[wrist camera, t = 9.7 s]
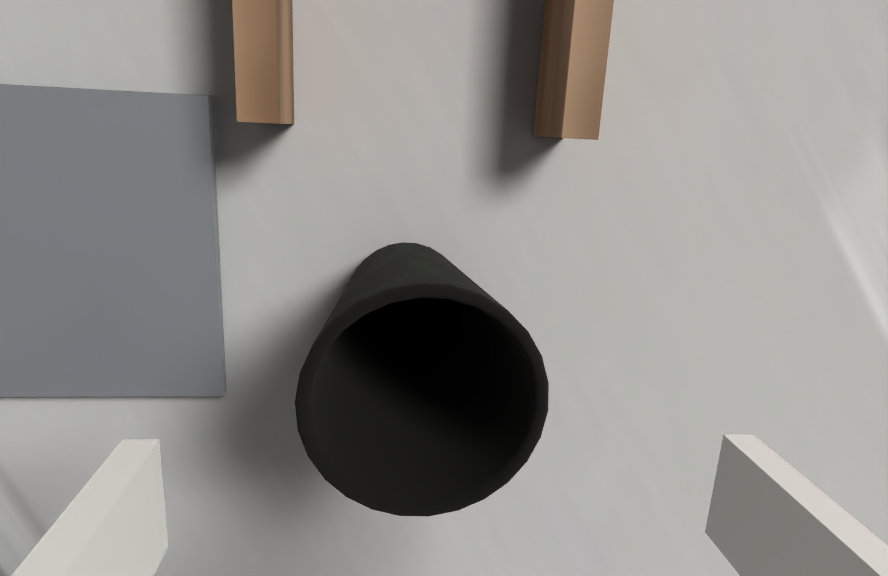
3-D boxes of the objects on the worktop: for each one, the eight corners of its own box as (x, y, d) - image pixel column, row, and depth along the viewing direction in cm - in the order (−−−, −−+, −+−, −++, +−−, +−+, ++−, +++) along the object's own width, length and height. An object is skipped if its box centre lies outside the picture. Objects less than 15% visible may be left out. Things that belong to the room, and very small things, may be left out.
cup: (293, 297, 29) (238, 411, 17) (407, 186, 28) (429, 229, 16) (404, 398, 31) (422, 561, 19) (513, 298, 30) (598, 405, 19)
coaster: (-83, 391, 28) (-93, 397, 27) (-144, 76, 24) (-156, 75, 24) (226, 391, 30) (223, 396, 29) (211, 96, 26) (207, 95, 25)
